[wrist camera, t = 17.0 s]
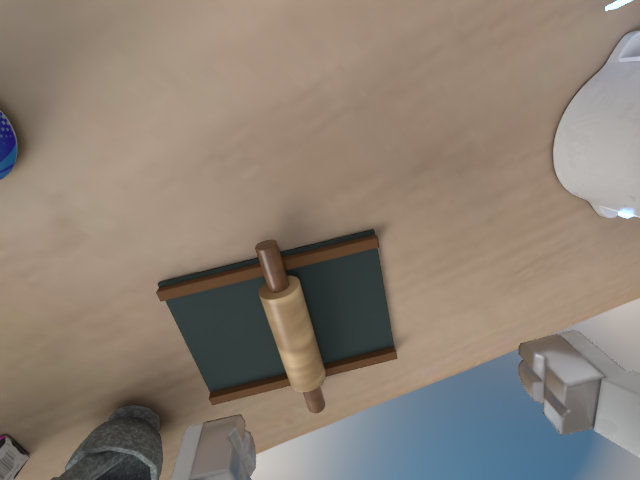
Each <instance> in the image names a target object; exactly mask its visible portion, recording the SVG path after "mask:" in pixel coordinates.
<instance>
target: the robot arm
mask: <svg viewBox="0 0 640 480" xmlns="http://www.w3.org/2000/svg"><path fill="white" fill-rule="evenodd" d="M630 1H632V0H618V1H616V2H614V3H612V4H610V5H608V6H606V10H611V9H615V8H618V7H620V6H622V5H624V4H626V3H628V2H630ZM553 162H554V168H555V172H556V174H557V177H558V179H559V181H560V182H561V184H562V185H563V186H564V188H565V189H566V190H568V191H569V192H570V193H572V194H573V195H575V196H577V197H580V198H582V199H584V200H586V201H588V202H589V203H590V204H591V206H592V207H593V209H594V210H595V211H596V213H597V214H598V215H600V216H603V217H606V218H614V217H617V216H622V217H625V218H629V217H632V216H635V217H639V218H640V31H632V32H629V33H627V34H626V35H625V36H624V37H623V38H622V39H621V40H620V42H619V43H618V44H617V46H616V47H615V49H614V51H613V52H612V54H611V56H610V57H609V59H608V61H607V62H606V64H605V65H604V66H603V67H602V69H601V70H600V71H599V72H598V73H596V74H595V75H594V76H593V77H592V78H591V79H590V80H589V81H588V82H587V83H586V84H585V85H584V86H583V87H582V88H581V89H580V90H579V91H578V93H577V94H576V95H575V96H574V98H573V99H572V101H571V102H570V104H569V105H568V107H567V109H566V110H565V112H564V114H563V116H562V118H561V121H560V123H559V126H558V129H557V132H556V135H555V140H554V146H553ZM519 355H520V356H521V357H522V358H523V360H522V361H521V363H520V364H519V365H518V370H519V377H520V380H521V383H522V385H523V387H524V388H525V390H526V392H527V393H528V394H529V396H530V397H531V398H532V399H533V400H534V401H536V402H539V403H541V404H543V413H544V415H545V416H546V417H547V418H548V420H549V421H550V422H551V424H552V425H553V426H554V427H555V429H556V430H557V431H558V432H559V433H560V435H566V434H570V433H575V432H580V431H584V430H589V429H594V431H596V432H598V433H599V434H601V435H603V436H604V437H606V438H608V439H609V440H611V441H613V442H614V443H616V444H618V445H619V446H621V447H623V448H624V449H626V450H628V451H629V452H631V453H633V454H634V455H636V456H638V457H639V458H640V373H638V372H635V371H630V372H627V371H626V370H625V369H624V368H623V367H621V366H620V365H619V364H618V363H617V362H615V361H614V360H613V359H612V358H610V357H609V356H608V355H607V354H606V353H604V352H603V351H602V350H601V349H599V348H598V347H597V346H596V345H594V343H592V342H591V341H590V340H589V339H587V338H586V337H585V336H584V335H582V334H581V333H580V332H579V331H576V330H571V331H567V332H563V333H559V334H556V335H550V336H547V337H543V338H539V339H535V340H531V341H528V342H524V343H521V344H520V346H519ZM255 468H256V450H255V444H254V440H253V437H252V435H251V433H250V432H249V431H247V430H245V420H244V419H243V417H242V415H234V416H230V417H225V418H221V419H216V420H212V421H207V422H204V423H199V424H195V425H191V426H188V427H187V429H186V430H185V432H184V435H183V438H182V442H181V445H180V448H179V452H178V455H177V459H176V462H175V466H174V469H173V473H172V476H171V479H170V480H251V478H250V476H251V475H252V473H253V471H254V470H255Z"/></svg>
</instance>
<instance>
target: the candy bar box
mask: <svg viewBox="0 0 640 480" xmlns="http://www.w3.org/2000/svg"><path fill="white" fill-rule="evenodd" d="M29 458H30V457H29V455H28V454H27V453H26V452H25V451H24V450H22V449H21V448H20V447H19V446H18V445H17V444H16V443H15V442H14V441H13V440H12V439H11V438H10V437H8V436H7V435H4V436H1V437H0V480H14V479H15V478H16V476H17V475H18V473H19V472H20V470H21V469H22V467H23V466H24V465H25V463H26V462H27V460H28V459H29Z"/></svg>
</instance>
